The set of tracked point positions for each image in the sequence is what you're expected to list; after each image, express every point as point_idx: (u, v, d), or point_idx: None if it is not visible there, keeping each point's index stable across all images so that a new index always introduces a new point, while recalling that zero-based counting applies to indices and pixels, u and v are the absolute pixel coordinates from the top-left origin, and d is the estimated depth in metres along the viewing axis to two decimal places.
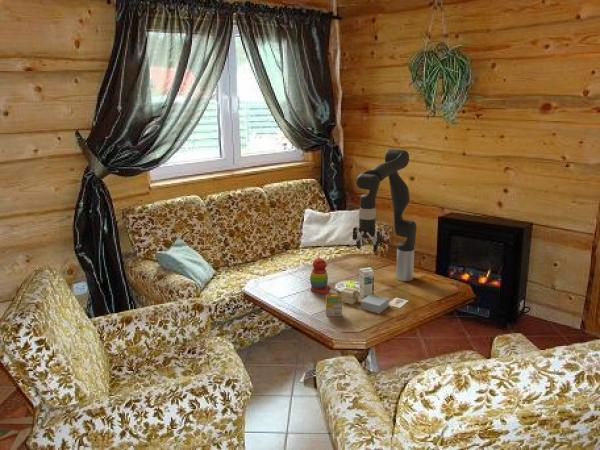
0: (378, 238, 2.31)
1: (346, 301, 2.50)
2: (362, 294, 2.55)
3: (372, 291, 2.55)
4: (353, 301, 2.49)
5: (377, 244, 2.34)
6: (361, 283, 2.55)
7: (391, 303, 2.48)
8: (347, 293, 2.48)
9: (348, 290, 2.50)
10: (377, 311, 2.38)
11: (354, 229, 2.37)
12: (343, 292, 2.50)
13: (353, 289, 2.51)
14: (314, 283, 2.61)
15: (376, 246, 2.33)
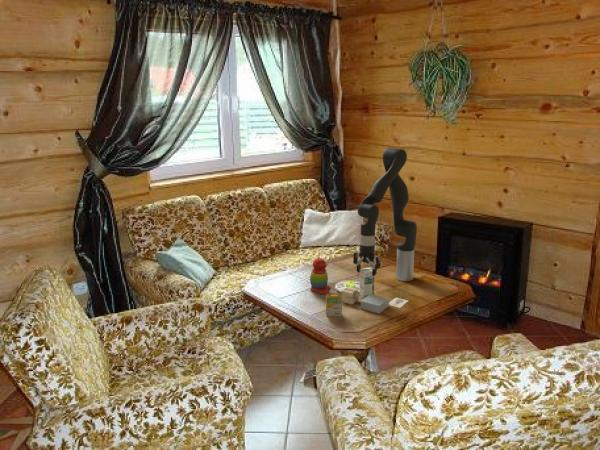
0: (377, 263, 2.48)
1: (346, 301, 2.50)
2: (362, 294, 2.55)
3: (372, 291, 2.55)
4: (353, 301, 2.49)
5: (376, 269, 2.51)
6: (361, 283, 2.55)
7: (391, 303, 2.48)
8: (347, 293, 2.48)
9: (348, 290, 2.50)
10: (377, 311, 2.38)
11: (355, 254, 2.54)
12: (343, 292, 2.50)
13: (353, 289, 2.51)
14: (314, 283, 2.61)
15: (375, 270, 2.50)
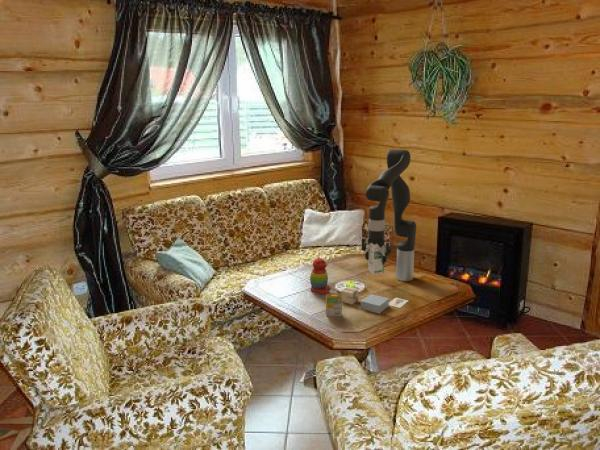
0: (387, 249, 2.32)
1: (346, 301, 2.50)
2: (372, 270, 2.37)
3: (382, 266, 2.37)
4: (353, 301, 2.49)
5: (386, 255, 2.34)
6: (370, 258, 2.37)
7: (391, 303, 2.48)
8: (347, 293, 2.48)
9: (348, 290, 2.50)
10: (377, 311, 2.38)
11: (363, 240, 2.38)
12: (343, 292, 2.50)
13: (353, 289, 2.51)
14: (314, 283, 2.61)
15: (385, 257, 2.34)
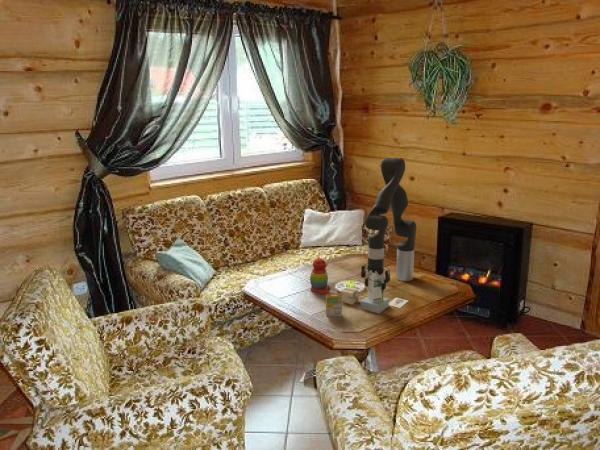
0: (386, 277, 2.35)
1: (346, 301, 2.50)
2: (371, 297, 2.41)
3: (381, 294, 2.41)
4: (353, 301, 2.49)
5: (385, 283, 2.38)
6: (370, 286, 2.41)
7: (391, 303, 2.48)
8: (347, 293, 2.48)
9: (348, 290, 2.50)
10: (377, 311, 2.38)
11: (362, 267, 2.42)
12: (343, 292, 2.50)
13: (353, 289, 2.51)
14: (314, 283, 2.61)
15: (384, 285, 2.37)
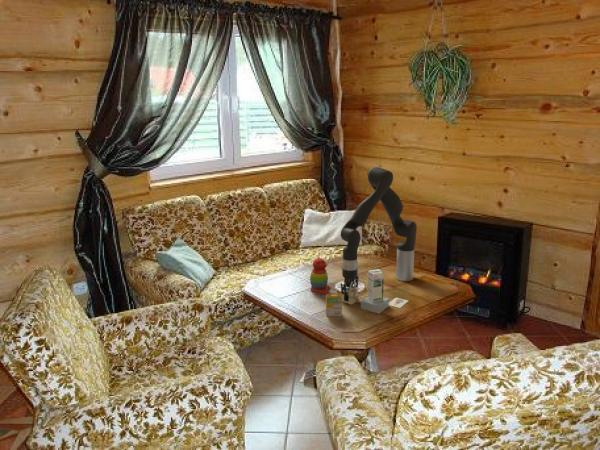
0: None
1: (346, 301, 2.50)
2: (371, 297, 2.41)
3: (381, 294, 2.41)
4: (353, 301, 2.49)
5: (345, 295, 2.47)
6: (370, 286, 2.41)
7: (391, 303, 2.48)
8: None
9: None
10: (377, 311, 2.38)
11: None
12: None
13: (353, 289, 2.51)
14: (314, 283, 2.61)
15: (344, 296, 2.48)
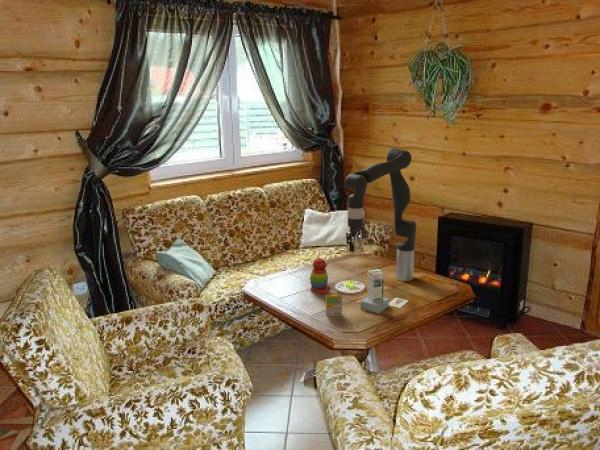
0: None
1: (351, 252, 2.41)
2: (371, 297, 2.41)
3: (381, 294, 2.41)
4: (359, 252, 2.41)
5: (351, 245, 2.39)
6: (370, 286, 2.41)
7: (391, 303, 2.48)
8: None
9: None
10: (377, 311, 2.38)
11: None
12: None
13: (359, 240, 2.43)
14: (314, 283, 2.61)
15: (349, 246, 2.40)
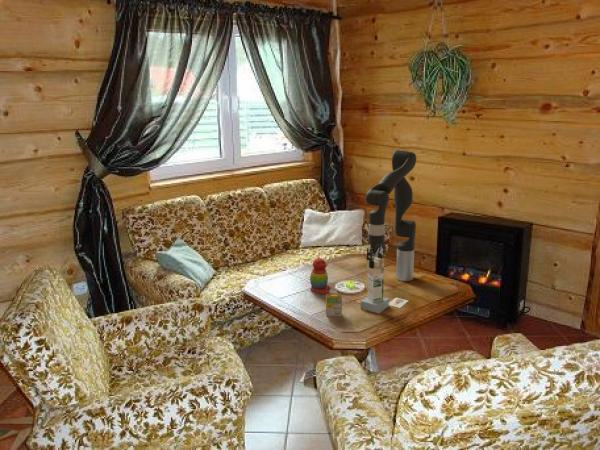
0: None
1: (372, 271, 2.37)
2: (371, 297, 2.41)
3: (381, 294, 2.41)
4: (379, 271, 2.36)
5: (371, 261, 2.33)
6: (370, 286, 2.41)
7: (391, 303, 2.48)
8: None
9: (374, 260, 2.37)
10: (377, 311, 2.38)
11: None
12: (368, 262, 2.37)
13: (379, 259, 2.38)
14: (314, 283, 2.61)
15: (369, 262, 2.34)
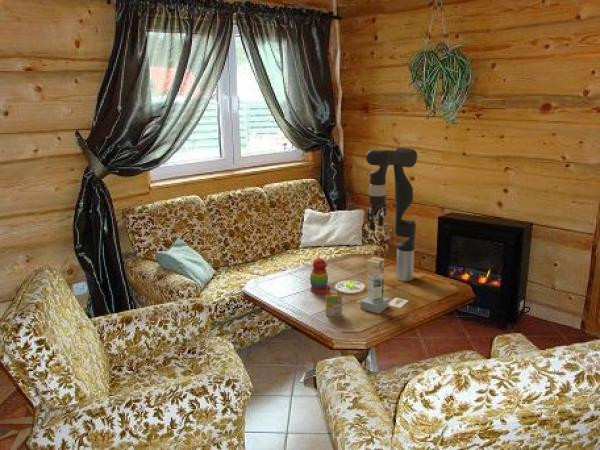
0: None
1: (372, 271, 2.37)
2: (371, 297, 2.41)
3: (381, 294, 2.41)
4: (379, 271, 2.36)
5: (371, 223, 2.28)
6: (370, 286, 2.41)
7: (391, 303, 2.48)
8: (373, 263, 2.35)
9: (374, 260, 2.37)
10: (377, 311, 2.38)
11: None
12: (368, 262, 2.37)
13: (379, 259, 2.38)
14: (314, 283, 2.61)
15: (370, 224, 2.29)
